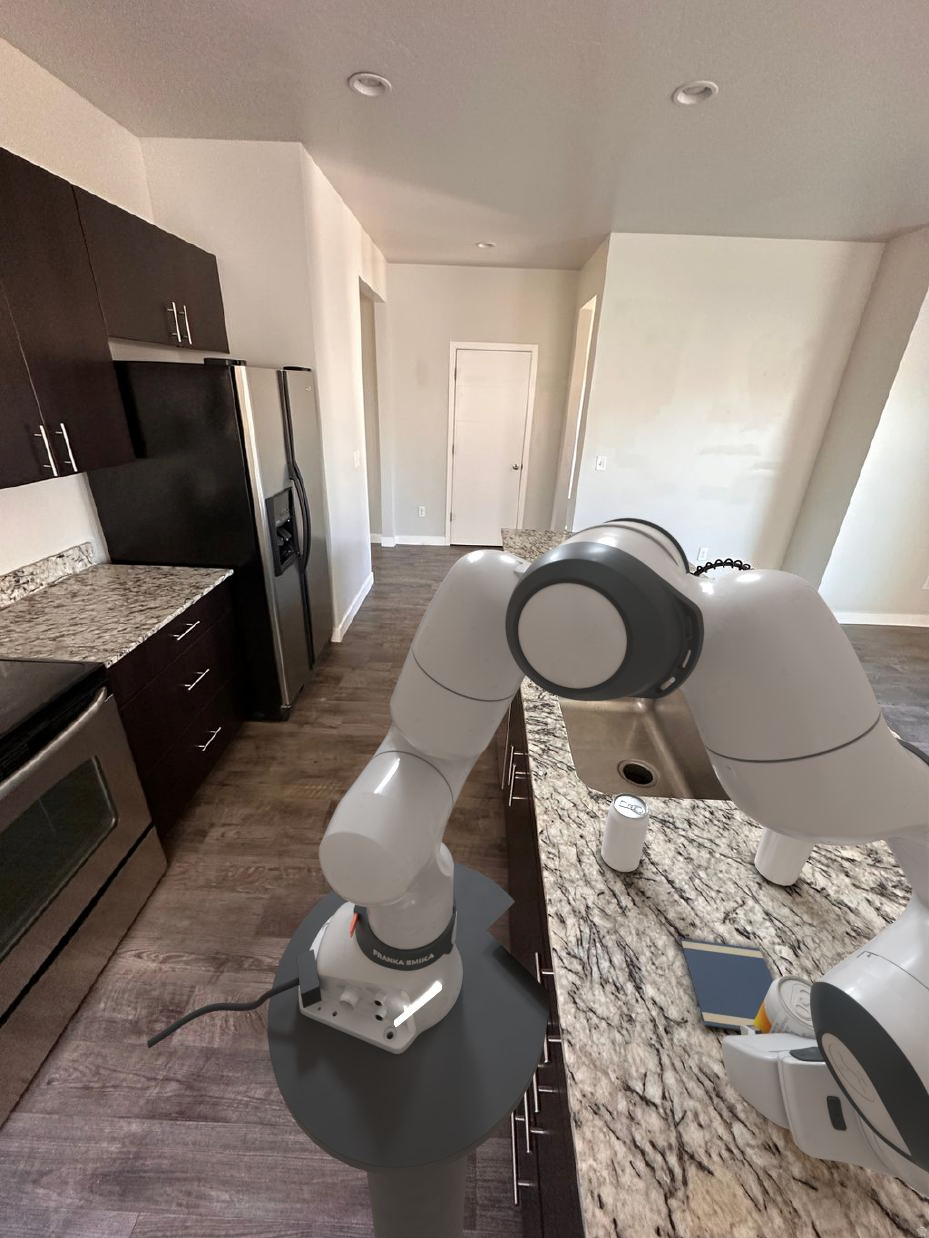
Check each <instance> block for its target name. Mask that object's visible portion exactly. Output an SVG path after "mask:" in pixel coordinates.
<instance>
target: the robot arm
mask: <svg viewBox="0 0 929 1238" xmlns="http://www.w3.org/2000/svg"><path fill="white" fill-rule="evenodd" d="M526 677H527V679H529V680H530V681H531V682H532V683H534V684H535V685H536V686H538V687H539V688H540V689H542V690H544V691H545V692H547V693H549V694H551V695H553V696H557V697H560V698H563V699H567V700H572V701H579V702H603V701H612V700H618V699H623V698H635V699H646V700H659V699H662V698H663V699H664V698H666V697H669V696H670V695H671V694H673V693H674V692H676V691H677V690H678V691H679V692H680V694H681V696H682V697H683V699H684V701H685V703H686V706H687V707H688V709H689V711H690V714H691V716H692V720H693V721H694V724H695V727H696V730H697V732H698V735H699V737H700V740H701V742H702V745H703V747H704V750H705V753H706V755H707V757H708V761H709V762H710V766H711V767H712V771H713V772H714V774H715V776H716V778H717V780H718V782H719V783H720V785H721V787H722V788H723V790H724V792H725V793H726V795H727V796H728V798H729V799H730V800H731V801H732V803H733V804H734V806H736V807H737V808H738V809H739V810H740V811H741V812H742V813H744V814H745V816H747V817H748V818H750V819H752V821H754V822H756V823H757V824H759V825H760V826H762V827H763V828H764V827H766V828H768V829H769V830H772V831H774V832H776V833H778V834H781V835H784V836H787V837H789V838H793V839H796V840H800V841H804V842H809V843H815V844H816V845H822V846H823V845H824V846H831V847H833V846H834V847H837V846H838V847H853V846H854V847H856V846H862V845H863V846H864V845H868V844H872V843H875V842H880V841H884V842H885V844H886V846H887V847H888V849H889V850H890V853H891V854H892V856H893V858H894V859H895V861H896V863H897V865H898V867H899V868H900V870H901V871H902V873H903V875H904V877H905V878H906V880H907V882H908V883H909V885H910V887H911V896H910V899H909V901H908V903H907V905H906V907H905V908H904V910H903V911H902V912H901V913H900V915H899V916H898V918H896V919H895V921H894V922H892V923H891V924H890V925H888V926H887V927H886V928H884V929H883V930H882V931H880V932H879V933H878V934H876V935H875V936H874V937H872V939H870V940H869V941H867V942H866V943H865V944H863V945H862V946H861V947H859V949H857V950H855V951H852V953H850V954H849V955H848V956H846V957H845V958H844V959H842V960H841V961H839V963H836V965H835V966H833V967H832V968H831V969H830V970H828V971H827V972H826V973H825V974H824V975H822V976H821V977H820V978H819V979H818V980H817V981H815V982H814V983H813V985H812V987H811V991H810V1010H811V1018H812V1023H813V1028H814V1032H815V1037H816V1038H810V1037H803V1036H799V1035H796V1034H792V1033H771V1034H762V1030H761V1029H759V1028H758V1027H756V1026H755V1025H741V1026H740V1029H741V1031H740V1034H737V1035H736V1034H735V1035H732V1034H731V1035H725V1036H724V1037H723V1038H722V1040H721V1054H722V1062H723V1065H724V1066H723V1067H724V1071H725V1074H726V1078H727V1080H728V1082H729V1084H730V1085H731V1087H732V1088H733V1089H734V1091H736V1092H737V1093H738V1094H739V1095H740V1096H741V1097H742V1098H743V1099H744V1100H745V1101H746V1102H748V1103H749V1105H751V1106H752V1107H753V1108H754V1109H755V1110H757V1111H758V1113H760V1114H761V1115H763V1117H765V1118H766V1119H767V1120H769V1121H770V1122H772V1123H774V1124H775V1125H777V1126H779V1127H781V1128H783V1129H786V1130H790V1132H791V1136H792V1139H793V1142H794V1144H795V1146H796V1147H797V1148H798V1149H799V1150H800V1151H801V1152H803V1154H805V1155H807V1156H808V1157H811V1158H815V1159H820V1160H826V1161H833V1162H839V1163H844V1164H849V1165H853V1166H858V1167H861V1168H865V1169H868V1170H871V1171H874V1172H876V1173H879V1174H882V1175H884V1176H886V1177H891V1178H899V1179H900V1180H902V1181H903V1182H904V1183H906V1185H908V1186H909V1187H911V1188H912V1189H913V1190H915V1191H916V1192H918V1193H920V1194H921V1195H923V1196H924V1197H927V1198H929V755H928V754H927V753H926V752H925V751H923V750H921V749H920V748H919V747H917V746H916V745H914V744H912V743H910V742H908V741H906V740H904V739H901V738H898V737H895V736H894V734H893V733H892V731H891V729H890V727H889V726H888V724H887V722H886V719H885V717H884V714H883V713H882V710H881V708H880V705H879V702H878V700H877V696H876V695H875V692H874V690H873V687H872V685H871V683H870V680H869V677H868V676H867V673H866V671H865V669H864V667H863V665H862V663H861V661H860V658H859V656H858V655H857V653H856V651H855V649H854V647H853V645H852V643H851V642H850V640H849V637H848V636H847V634H846V633H845V631H844V630H843V628H842V626H841V624H840V623H839V621H838V620H837V618H836V616H835V615H834V612H832V610H831V608H830V606H828V604H827V603H826V601H825V600H824V598H823V597H822V595H821V594H820V592H819V591H818V590H817V589H816V588H815V586H813V584H811V583H810V582H809V581H807V580H806V579H805V578H802V577H801V576H799V575H797V574H795V573H792V572H789V571H785V570H781V569H780V570H779V569H768V568H757V569H756V568H754V569H753V568H752V569H746V570H739V571H734V572H731V573H728V574H725V575H722V576H719V577H717V578H715V577H699V576H696V575H694V574H691V569H690V563H689V561H688V557H687V554H686V553H685V551H684V548H683V547H682V546H681V544H680V542H679V541H678V540H677V539H676V538H675V537H674V535H672V533H670V532H669V531H668V530H666V529H665V528H664V527H662V526H660V525H658V524H656V523H655V522H652V521H649V520H646V519H642V518H636V517H622V518H621V517H619V518H614V519H610V520H606V521H605V522H602V523H599V524H598V523H597V524H595V525H592V526H588V527H586V528H584V529H581V530H579V531H577V532H575V533H573V534H572V535H570V536H569V537H568V538H566V539H565V540H563V541H562V542H561V543H560V544H558V545H557V546H556V547H553V548H551V549H550V550H548V551H546V552H545V553H542V554H541V555H540V556H539V557H537V558H536V559H535V560H534V561H531V562H530V561H528V560H525V559H523V558H522V557H520V556H518V555H516V554H513V553H510V552H507V551H504V550H503V551H502V550H499V549H477V550H474V551H471V552H468V553H466V554H465V555H463V556H461V557H460V558H459V559H458V560H457V561H456V562H455V563H454V564H453V565H452V567H451V568H450V569H449V571H448V573H447V574H446V576H444V579H443V580H442V581H441V584H439V586H438V589H436V592H435V593H434V595H433V597H432V598H431V601H430V602H429V604H428V606H427V608H426V610H425V612H424V614H423V616H422V618H421V620H420V622H419V625H418V627H417V629H416V632H415V633H414V637H413V640H412V642H411V645H410V647H409V650H408V652H407V655H406V658H405V661H404V663H403V666H402V668H401V670H400V673H399V676H398V679H397V681H396V683H395V686H394V689H393V692H392V695H391V697H390V700H389V714H390V718H391V721H392V722H391V724H390V727H389V729H388V731H387V733H386V735H385V737H384V738H383V740H382V742H381V744H380V745H379V747H378V748H377V750H376V751H375V753H374V754H373V756H372V757H371V758H370V759H369V761H368V762H367V764H366V765H365V767H364V769H363V770H362V772H360V773H359V775H358V777H357V778H356V779H355V781H354V782H353V783H352V785H351V786H350V787H349V789H348V790H347V791H346V793H345V794H344V795H343V797H342V799H341V800H340V801H339V802H338V803H337V806H336V808H335V810H334V811H333V814H332V816H331V818H330V821H329V822H328V825H327V827H326V829H325V832H324V835H323V837H322V839H321V841H320V844H319V847H318V861H319V865H320V868H321V871H322V874H323V875H324V878H325V880H326V882H327V883H328V885H329V886H330V887H331V889H332V890H333V889H334V891H335V892H336V893H337V894H339V895H340V896H341V897H342V898H344V899H345V900H347V901H349V902H347V903H345V904H343V905H342V906H341V907H340V908H339V909H338V910H337V911H336V912H335V914H334V915H333V916H332V917H331V918H330V919H329V920H328V921H327V922H326V923H325V924H324V925H323V927H322V928H321V930H320V931H319V933H318V934H317V936H316V938H315V940H314V942H313V944H312V946H311V948H310V950H309V951H307V952H305V953H302V954H300V955H297V956H296V962H297V969H298V978H296V979H293V980H291V981H288V982H286V983H284V984H281V985H279V986H277V987H274V988H272V987H271V988H270V989H269V990H267V991H265V992H264V993H263V994H262V995H261V996H260V997H259V998H258V999H256V1000H254V1001H250V1002H216V1003H211V1004H208V1005H204V1006H202V1007H199V1008H197V1009H195V1010H192V1011H191V1012H189V1013H188V1014H186V1015H184V1016H183V1017H181V1018H179V1019H178V1020H176V1021H174V1022H173V1023H172V1024H171V1025H169V1026H168V1027H167V1028H165V1029H164V1030H162V1031H161V1032H159V1033H157V1034H156V1035H154V1036H153V1037H151V1038H149V1039H148V1040H146V1043H147V1048H148V1049H151V1048H152V1047H154V1046H155V1045H157V1044H158V1043H160V1042H162V1041H163V1040H164V1039H166V1038H168V1037H169V1036H170V1035H172V1034H174V1033H175V1032H177V1030H179V1029H180V1028H182V1027H183V1026H185V1025H186V1024H188V1023H189V1022H191V1021H193V1020H195V1019H197V1018H199V1017H202V1016H205V1015H206V1014H210V1013H213V1012H221V1011H222V1012H223V1011H224V1012H227V1011H228V1012H248V1011H254V1010H256V1009H258V1008H260V1007H261V1006H262V1005H264V1003H265V1002H266V1001H267V1000H270V998H271V997H272V996H274V995H277V994H279V993H281V992H283V991H286V990H288V989H291V988H293V987H295V986H298V985H299V1008H300V1012H301V1013H302V1014H303V1015H305V1016H307V1017H310V1018H312V1019H314V1020H316V1021H319V1022H321V1023H323V1024H326V1025H328V1026H331V1027H333V1028H335V1029H338V1030H340V1031H342V1032H345V1033H347V1034H349V1035H352V1036H354V1037H356V1038H359V1039H361V1040H363V1041H366V1042H368V1043H370V1044H373V1045H375V1046H377V1047H380V1048H382V1049H384V1050H387V1051H389V1052H391V1053H394V1054H401V1053H403V1052H404V1051H405V1050H406V1049H407V1048H408V1047H409V1046H410V1045H411V1044H412V1042H413V1041H414V1040H415V1039H416V1037H417V1036H418V1035H419V1034H420V1033H422V1032H423V1031H425V1030H426V1029H428V1028H430V1027H432V1026H434V1025H435V1024H437V1023H438V1022H439V1021H440V1020H442V1019H443V1018H444V1017H445V1016H446V1015H447V1014H448V1012H449V1011H450V1010H451V1009H452V1007H453V1006H454V1004H455V1002H456V1000H457V998H458V996H459V993H460V990H461V986H462V980H463V966H462V960H461V957H460V954H459V951H458V949H457V947H456V944H455V939H456V928H457V911H456V903H455V897H454V894H453V876H454V863H453V862H454V859H453V856H452V853H451V851H450V849H449V848H448V847H447V845H446V844H445V843H444V842H443V837H444V834H445V831H446V828H447V825H448V823H449V820H450V817H451V814H452V812H453V810H454V808H455V805H456V803H457V802H458V799H459V796H460V794H461V792H462V790H463V787H464V785H465V783H466V781H467V779H468V777H469V776H470V773H471V772H472V770H473V768H474V766H475V765H476V763H477V762H478V760H479V758H480V756H481V755H482V753H484V752H485V750H487V748H488V746H489V744H490V743H491V741H492V740H493V738H494V735H495V733H496V732H497V730H498V728H499V726H500V724H501V722H502V720H503V719H504V716H505V715H506V713H507V711H508V709H509V707H510V705H511V703H512V702H513V700H514V699H515V696H516V694H517V692H518V691H519V689H520V687H521V685H522V683H523V682H524V679H525V678H526ZM666 683H670V684H669V685H668V686H667V687H665V688H664V689H662V688H661V687H662V686H663V685H664V684H666ZM335 1015H336V1016H335ZM388 1035H393V1038H392V1039H387V1036H388Z"/></svg>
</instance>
